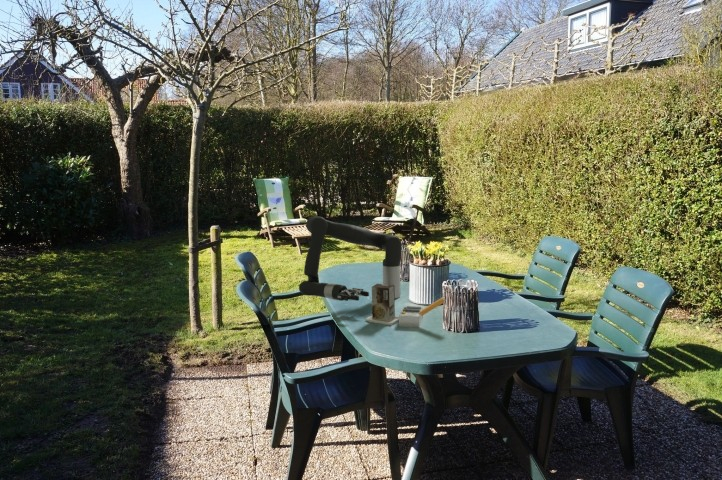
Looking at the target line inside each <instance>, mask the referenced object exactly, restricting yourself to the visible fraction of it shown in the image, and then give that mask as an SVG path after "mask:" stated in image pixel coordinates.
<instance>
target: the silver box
mask: <svg viewBox="0 0 722 480" xmlns="http://www.w3.org/2000/svg"><path fill="white" fill-rule="evenodd" d="M423 309H424V308H423V307H422V306H410V305H409V306H403V308H402V309H401V311H400V313H399V314H398V316H399V322H398V327H405V328H420V326H421V324H422V321H423V318H424V315H423V316H421V314H420V311H421V310H423Z"/></svg>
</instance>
